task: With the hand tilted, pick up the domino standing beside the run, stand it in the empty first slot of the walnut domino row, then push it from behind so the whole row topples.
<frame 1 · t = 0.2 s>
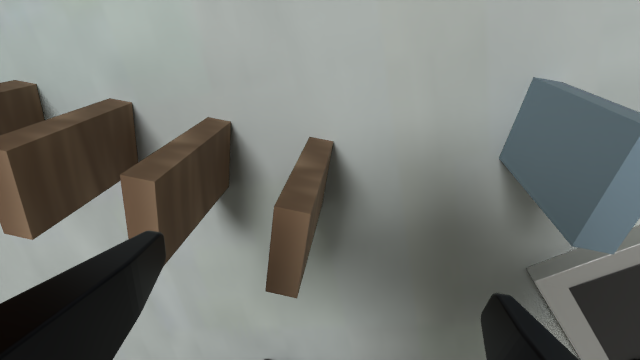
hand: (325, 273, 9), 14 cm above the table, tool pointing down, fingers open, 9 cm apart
domino 4: (124, 134, 25), on the table
domino 5: (34, 116, 25), on the table
domino 2: (316, 172, 24), on the table
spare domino: (529, 122, 20), on the table
domino 3: (218, 153, 24), on the table
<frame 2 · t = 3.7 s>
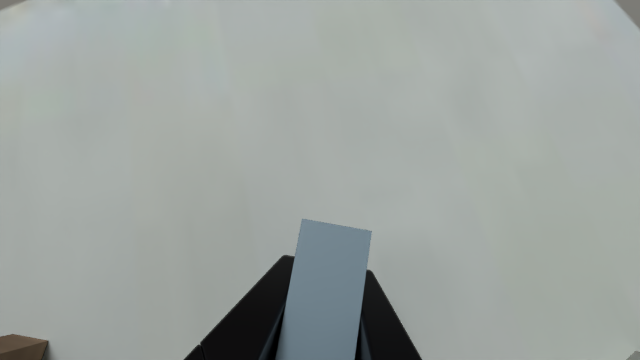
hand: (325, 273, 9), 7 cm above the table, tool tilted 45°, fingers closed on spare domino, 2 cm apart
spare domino: (312, 303, 16), on the table, touching gripper
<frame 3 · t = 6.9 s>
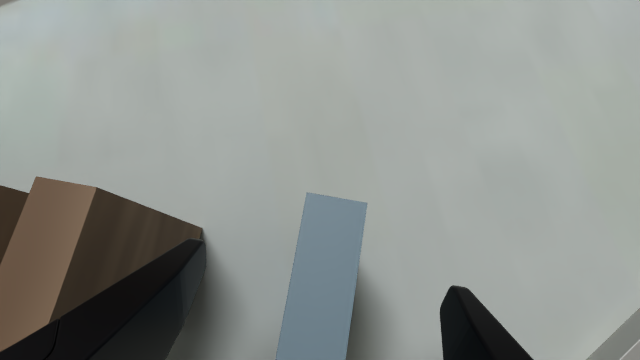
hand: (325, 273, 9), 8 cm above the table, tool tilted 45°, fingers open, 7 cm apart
domino 2: (173, 275, 17), on the table
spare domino: (316, 283, 17), on the table
domino 3: (34, 250, 17), on the table
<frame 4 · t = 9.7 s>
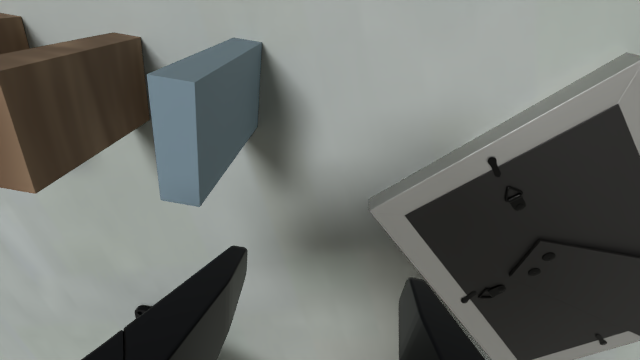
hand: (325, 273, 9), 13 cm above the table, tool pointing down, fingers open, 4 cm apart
domino 2: (132, 78, 21), on the table
picture frame: (541, 240, 25), on the table
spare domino: (246, 84, 20), on the table
domino 3: (20, 59, 21), on the table
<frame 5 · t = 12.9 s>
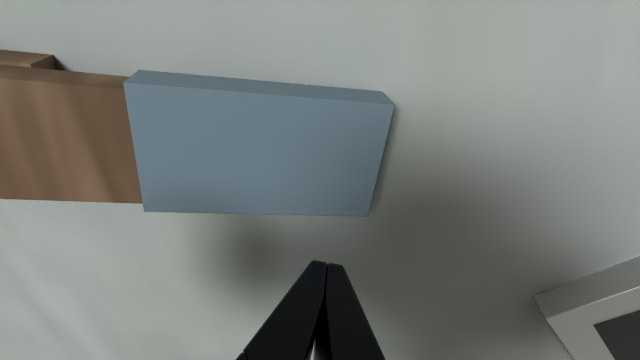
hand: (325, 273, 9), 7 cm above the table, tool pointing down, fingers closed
domino 2: (213, 147, 15), point 1 cm above the table, tilted 77°, touching domino 3, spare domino
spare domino: (374, 156, 14), point 1 cm above the table, tilted 77°, touching domino 2
domino 3: (57, 118, 15), point 1 cm above the table, tilted 78°, touching domino 2, domino 4
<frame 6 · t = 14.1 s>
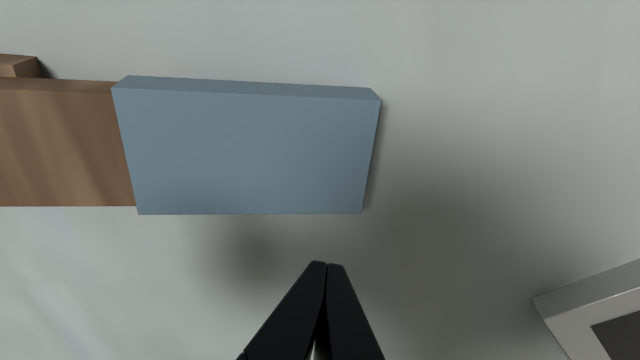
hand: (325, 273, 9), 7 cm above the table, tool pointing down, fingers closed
domino 2: (202, 147, 15), point 1 cm above the table, tilted 77°, touching domino 3, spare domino
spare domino: (365, 153, 14), point 1 cm above the table, tilted 77°, touching domino 2
domino 3: (44, 119, 15), point 1 cm above the table, tilted 78°, touching domino 2, domino 4
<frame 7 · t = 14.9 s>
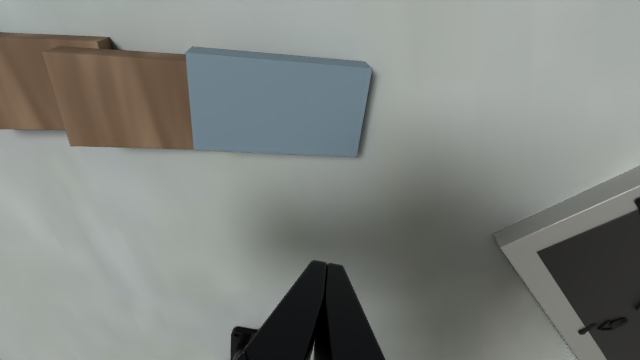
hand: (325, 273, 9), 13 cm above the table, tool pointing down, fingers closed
domino 2: (235, 105, 20), point 1 cm above the table, tilted 77°, touching domino 3
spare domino: (360, 110, 19), point 1 cm above the table, tilted 77°
domino 3: (114, 85, 20), point 1 cm above the table, tilted 78°, touching domino 2
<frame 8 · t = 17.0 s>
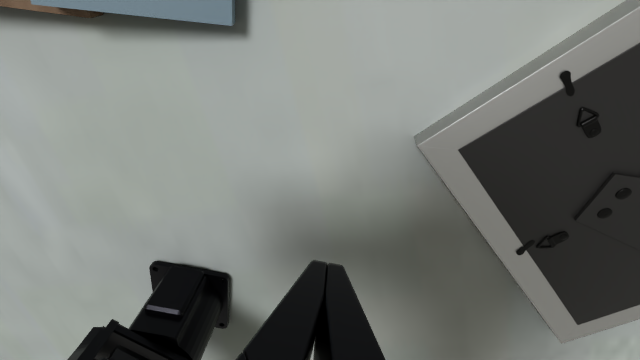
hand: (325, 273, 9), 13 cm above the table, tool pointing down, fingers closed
picture frame: (606, 182, 22), on the table
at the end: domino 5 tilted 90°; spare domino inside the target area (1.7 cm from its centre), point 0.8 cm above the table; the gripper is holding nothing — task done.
